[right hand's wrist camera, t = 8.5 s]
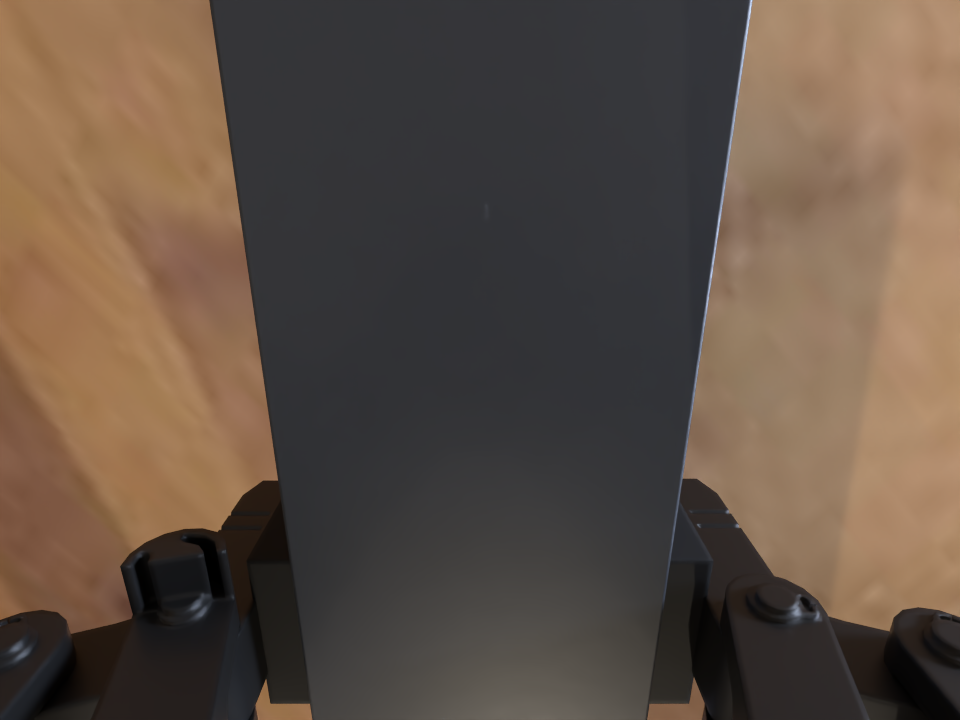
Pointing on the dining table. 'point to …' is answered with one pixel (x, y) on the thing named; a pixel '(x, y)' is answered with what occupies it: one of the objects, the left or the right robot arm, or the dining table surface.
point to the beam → (480, 331)
